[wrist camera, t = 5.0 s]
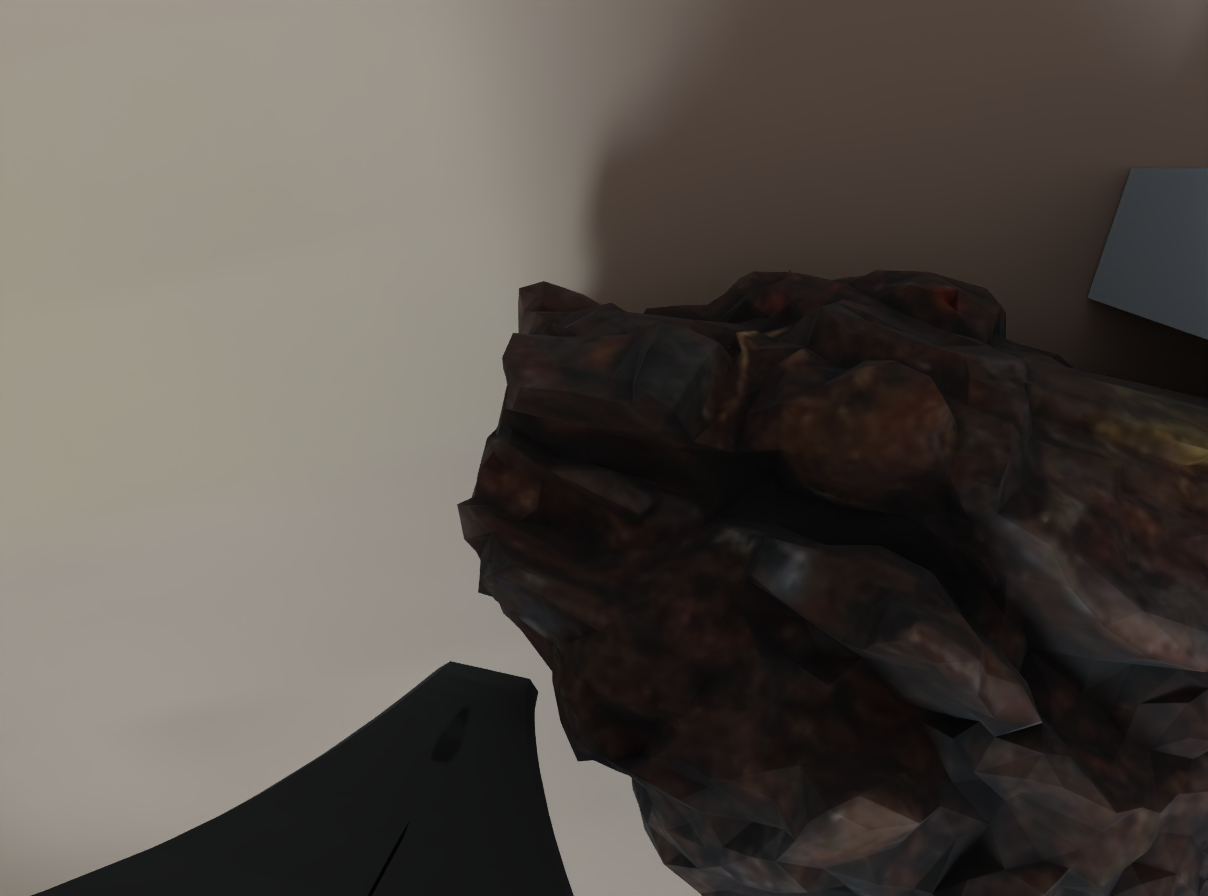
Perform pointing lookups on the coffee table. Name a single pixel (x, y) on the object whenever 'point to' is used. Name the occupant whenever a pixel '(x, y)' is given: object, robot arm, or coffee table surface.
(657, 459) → the jagged brown rock
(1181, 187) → the grey rectangular tray
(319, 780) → the robot arm
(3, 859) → the coffee table surface
